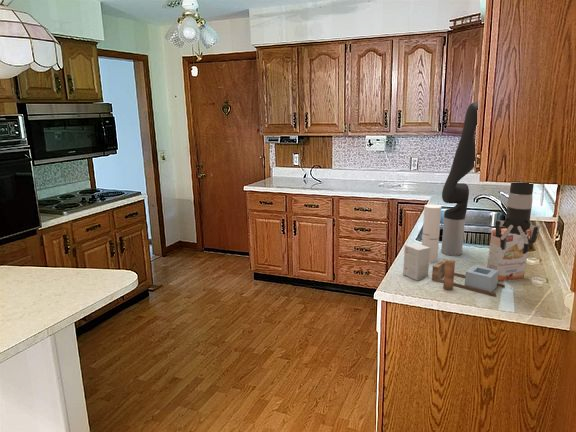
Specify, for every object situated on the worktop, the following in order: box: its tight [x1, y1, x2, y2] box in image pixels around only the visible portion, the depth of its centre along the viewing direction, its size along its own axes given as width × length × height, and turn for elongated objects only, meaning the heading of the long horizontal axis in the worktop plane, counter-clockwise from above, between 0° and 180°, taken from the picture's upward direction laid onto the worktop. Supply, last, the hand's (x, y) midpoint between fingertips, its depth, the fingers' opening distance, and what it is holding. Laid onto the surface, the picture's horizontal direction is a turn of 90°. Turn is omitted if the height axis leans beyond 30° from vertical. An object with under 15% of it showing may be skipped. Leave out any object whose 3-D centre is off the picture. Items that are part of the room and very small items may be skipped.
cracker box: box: [486, 227, 532, 282], centre depth 178 cm, size 14×6×21 cm, turn 105°
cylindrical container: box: [421, 204, 442, 264], centre depth 200 cm, size 7×7×25 cm
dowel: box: [442, 259, 456, 291], centre depth 168 cm, size 3×3×12 cm
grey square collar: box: [464, 264, 499, 293], centre depth 169 cm, size 9×9×6 cm
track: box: [431, 258, 506, 297], centre depth 173 cm, size 11×24×7 cm, turn 49°
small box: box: [402, 242, 430, 281], centre depth 182 cm, size 8×6×13 cm
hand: (513, 251), depth 159 cm, fingers open, 6 cm apart
